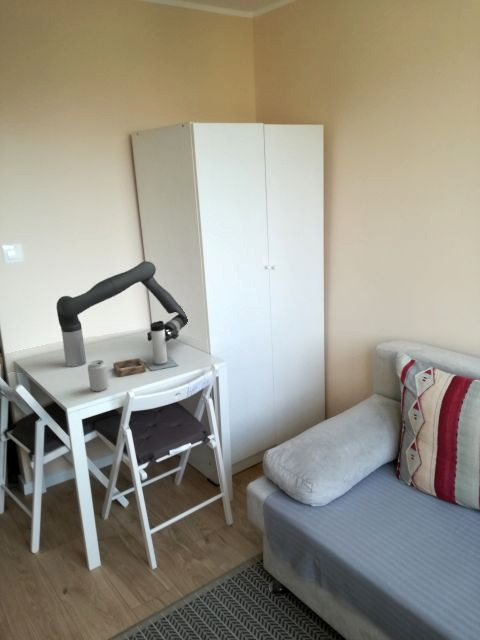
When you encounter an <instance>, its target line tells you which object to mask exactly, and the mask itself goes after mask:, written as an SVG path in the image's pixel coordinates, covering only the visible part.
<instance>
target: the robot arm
mask: <svg viewBox="0 0 480 640" xmlns="http://www.w3.org/2000/svg"><path fill="white" fill-rule="evenodd" d="M156 271H157V267H156V265H155V264H154V263H153V262H151V261H147V260H145V261H141V262H140V263H138V264H137V265H135V266H133V267H132V268H130V269H128V270H126V271H124V272H120V273H118V274H115V275H112V276H110V277H107V278H104V280H101V281H99V282H97V283H96V284H94V285H93V286H92V287H91V288H90V289H88V290H87V291H86V292H84V293H81V294H79V295H77V296H74V297H72V296H70V295H64V296H61V297H59V298H58V299H57V302H56V312H57V313H56V314H57V319H58V323H59V326H60V331H61V336H62V344H63V352H64V359H65V363H66V367H70V368H71V367H79V366H83V365H85V364H86V363H87V357H86V350H85V343H84V335H83V329H82V322H81V321H80V319H79V316H78V315H80V314H81V313H83V312H86V310H88V309H90V308H91V307H93V306H96V305H98V304H100V303H102V302H105V301H107V300H109V299H111V298H113V297H115V296H117V295H119V294H121V293H123V292H124V291H126V290H128V289H129V288H130V287H132V286H133V285H135V284H137V283H141V284H142V285H143V286H145V288H147V290H148V291H149V292H150V293H151V294H152V295H153V296H154V297H155V298H156V300H157V301H158V302H159V304H160V305H161V306H162V307H163V309H164V310H165V311H166V313H168V314H174V313H176V315H175V316H174V317H172V318H171V319H170V320H167V321H166V322H165V323H164V330H165V341H166V343H167V342H169V341H170V340H176V339H178V337H180V334H179V333H180V331H181V330H182V329H183V328H184V327H186V326H187V325H188V324H187V322H188V319H187V316H186V314H185V312H184V311H183V309H182V308H183V307H182V306H181V305H180V304H179V303H178V302H177V301H176V299H175V298H174V297H173V295H172V294H171V293H170V292H169V291H168V290H167V289H165V288H164V287H163V286H162V285H160V284H159V282H158V281H157V280H156V278H155V277H154V276H155V274H156ZM181 307H182V308H181ZM186 324H187V325H186ZM185 325H186V326H185ZM147 341H149V342H152V337H151V330H150V331H149V332H147Z"/></svg>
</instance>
